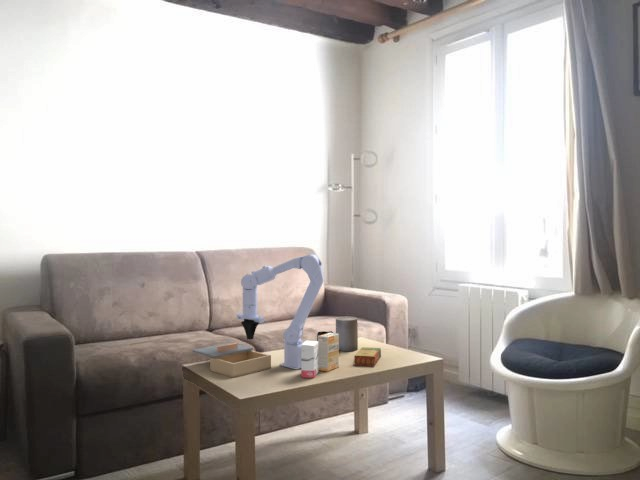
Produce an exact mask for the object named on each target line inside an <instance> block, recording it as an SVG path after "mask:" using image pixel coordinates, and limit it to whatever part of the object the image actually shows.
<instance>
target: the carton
mask: <svg viewBox="0 0 640 480" xmlns="http://www.w3.org/2000/svg"><path fill="white" fill-rule="evenodd" d="M381 358H382V350H381V348H380V347H361V348H360V349H358V352H356V354H355V355H354V363H353V364H354V366H363V367H365V366H366V367H376V366H377V364H378V362H379V361H380V359H381Z"/></svg>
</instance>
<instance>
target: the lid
mask: <svg viewBox="0 0 640 480" xmlns="http://www.w3.org/2000/svg"><path fill="white" fill-rule="evenodd" d="M250 350H251V351H254V348H253V347H250V346H247V345H243V344H239V343H238V342H227V343H222V344H221V343H220V344H215V345H211V346H205V347H200V348H195V349H192V352H193V353H195V354H198V355H203V356H205V357H212V358H217V357H222V356H227V355H231V354H236V353H241V352H246V351H250Z"/></svg>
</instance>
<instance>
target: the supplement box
mask: <svg viewBox="0 0 640 480" xmlns="http://www.w3.org/2000/svg"><path fill="white" fill-rule="evenodd" d="M339 351H340V350H339V334H336V332H333V333H327V334H324V335H320V336H318V371H322V372H330V371H333V370H334V369H336V368H339V360H340V359H339V353H340V352H339Z"/></svg>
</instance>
